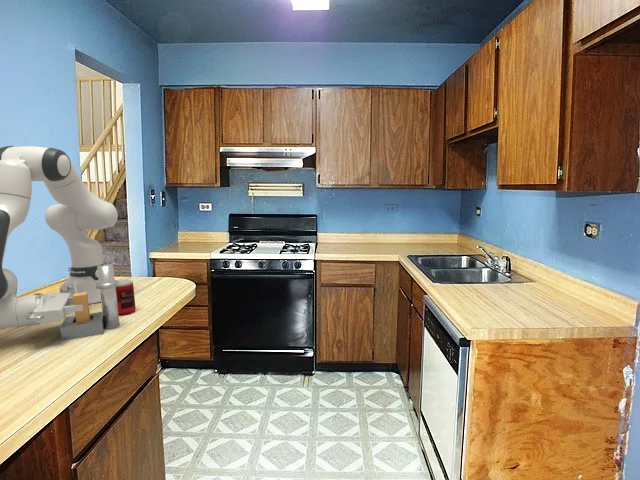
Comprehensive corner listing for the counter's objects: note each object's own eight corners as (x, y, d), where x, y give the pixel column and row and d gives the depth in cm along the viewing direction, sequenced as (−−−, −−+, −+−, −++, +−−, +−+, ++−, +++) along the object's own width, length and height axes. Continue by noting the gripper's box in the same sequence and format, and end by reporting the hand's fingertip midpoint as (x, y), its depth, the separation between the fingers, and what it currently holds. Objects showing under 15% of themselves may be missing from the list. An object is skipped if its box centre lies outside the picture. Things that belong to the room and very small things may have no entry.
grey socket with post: (61, 340, 124) (53, 274, 121) (67, 329, 134) (58, 267, 131) (122, 330, 131) (115, 267, 128) (123, 320, 141) (116, 261, 138)
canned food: (116, 310, 153) (113, 280, 151) (139, 308, 153) (136, 279, 152) (107, 316, 145) (104, 285, 144) (131, 315, 146) (128, 284, 144)
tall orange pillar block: (77, 334, 129) (72, 296, 127) (79, 330, 132) (74, 293, 130) (90, 332, 130) (85, 294, 129) (91, 328, 134) (87, 291, 132)
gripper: (22, 309, 115) (79, 301, 120) (37, 292, 133) (86, 286, 139) (25, 331, 116) (82, 322, 121) (39, 311, 134) (88, 304, 140)
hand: (84, 303), depth 130 cm, fingers open, 8 cm apart
